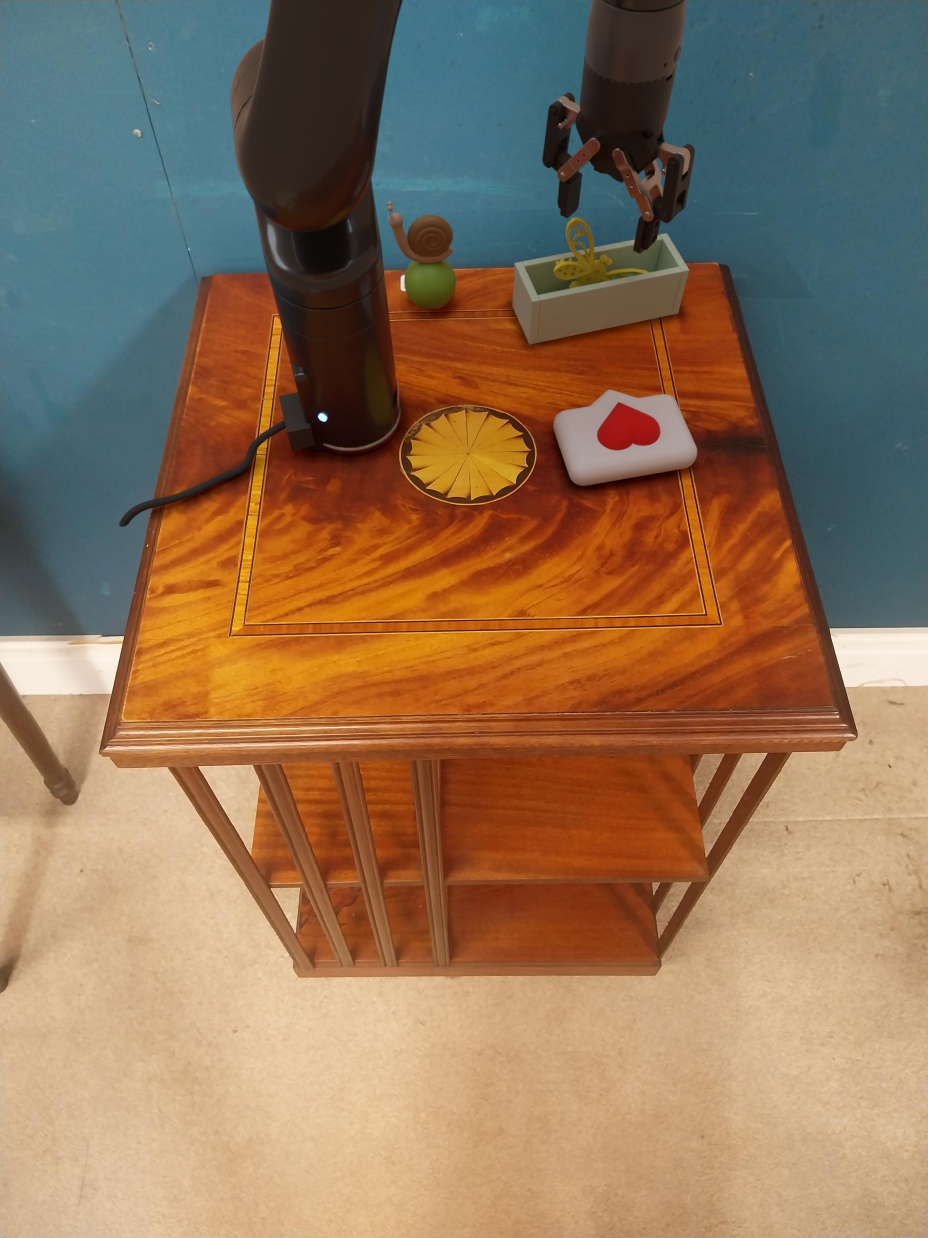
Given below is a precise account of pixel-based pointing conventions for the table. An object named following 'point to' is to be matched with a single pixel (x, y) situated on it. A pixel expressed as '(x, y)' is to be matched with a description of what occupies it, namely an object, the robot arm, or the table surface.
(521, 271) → the slot tray
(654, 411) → the icon
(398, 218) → the snail figurine
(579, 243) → the decorative insect
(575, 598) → the table surface
